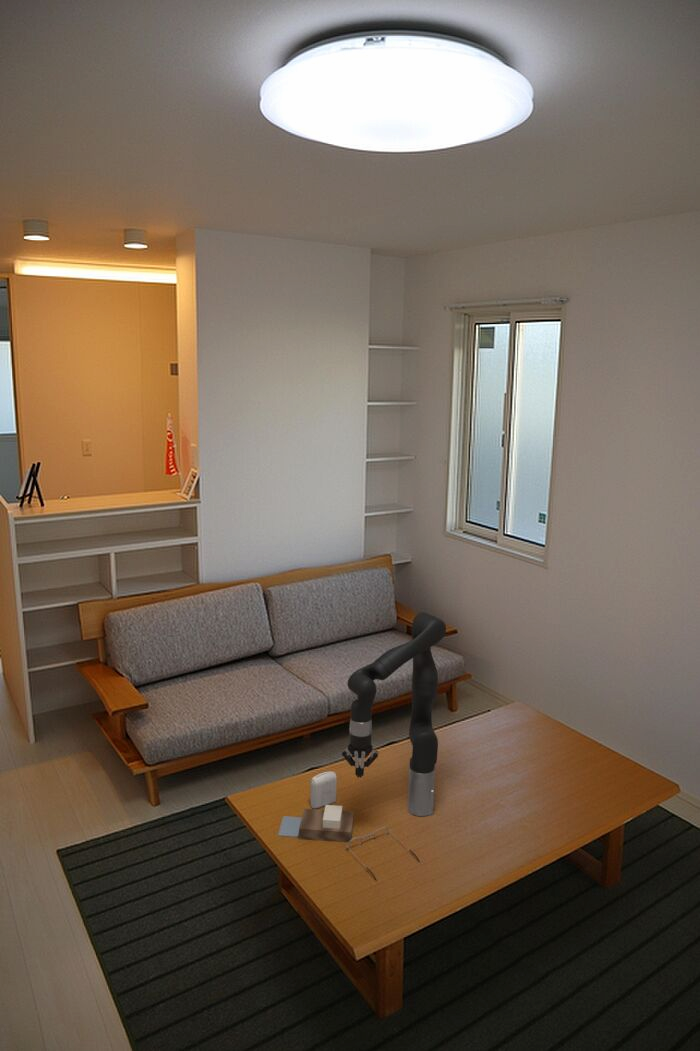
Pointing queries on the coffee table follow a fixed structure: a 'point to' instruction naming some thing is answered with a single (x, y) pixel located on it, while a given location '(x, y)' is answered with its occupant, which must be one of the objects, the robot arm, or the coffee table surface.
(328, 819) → the cream rectangular block
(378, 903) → the coffee table surface
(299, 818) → the mat
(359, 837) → the eyeglasses
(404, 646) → the robot arm
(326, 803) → the photo printer
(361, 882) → the coffee table surface
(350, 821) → the brown flat block
